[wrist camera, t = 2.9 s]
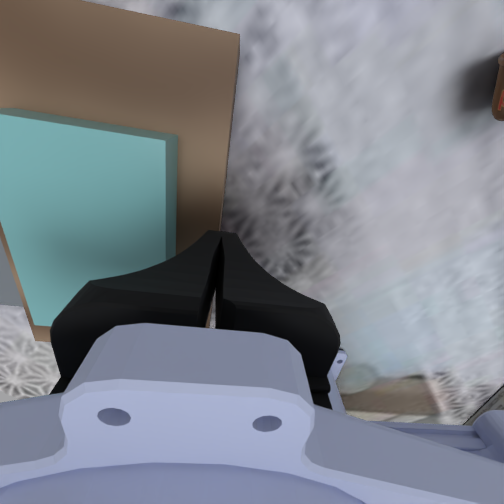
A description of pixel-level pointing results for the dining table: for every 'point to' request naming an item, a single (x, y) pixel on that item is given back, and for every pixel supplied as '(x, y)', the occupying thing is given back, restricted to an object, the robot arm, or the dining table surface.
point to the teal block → (83, 203)
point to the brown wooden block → (128, 91)
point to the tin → (499, 92)
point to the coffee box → (489, 406)
